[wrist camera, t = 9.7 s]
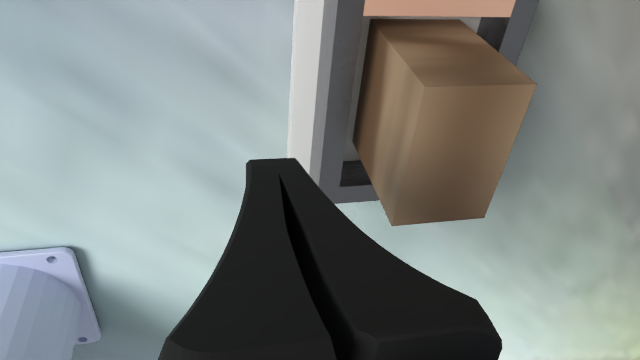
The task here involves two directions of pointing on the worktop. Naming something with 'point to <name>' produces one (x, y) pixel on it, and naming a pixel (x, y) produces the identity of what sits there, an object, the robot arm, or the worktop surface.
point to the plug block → (436, 118)
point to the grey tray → (346, 72)
